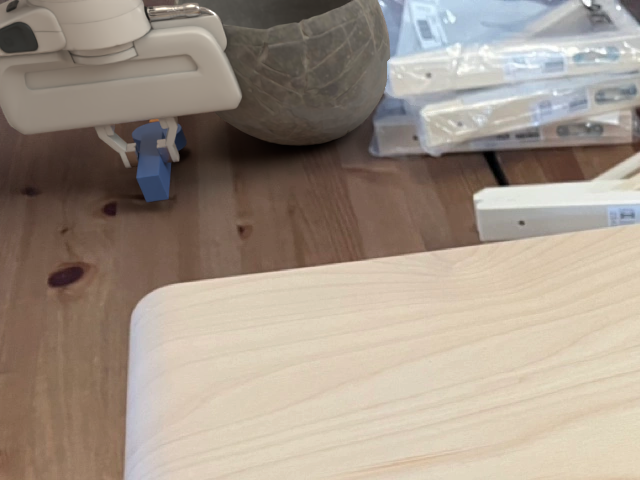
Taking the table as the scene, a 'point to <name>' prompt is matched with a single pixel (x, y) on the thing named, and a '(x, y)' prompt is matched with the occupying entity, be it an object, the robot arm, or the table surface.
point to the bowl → (303, 65)
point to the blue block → (154, 160)
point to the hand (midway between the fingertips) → (153, 162)
